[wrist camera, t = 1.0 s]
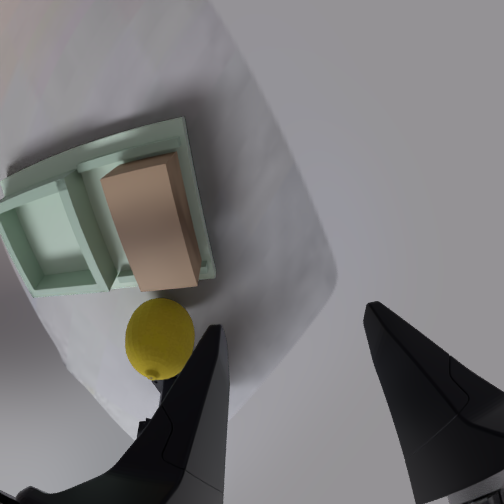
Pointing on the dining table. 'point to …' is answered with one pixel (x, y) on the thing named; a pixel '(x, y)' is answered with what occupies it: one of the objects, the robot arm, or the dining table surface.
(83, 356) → the dining table surface
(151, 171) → the tan rectangular block
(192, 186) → the tray
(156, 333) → the lemon
